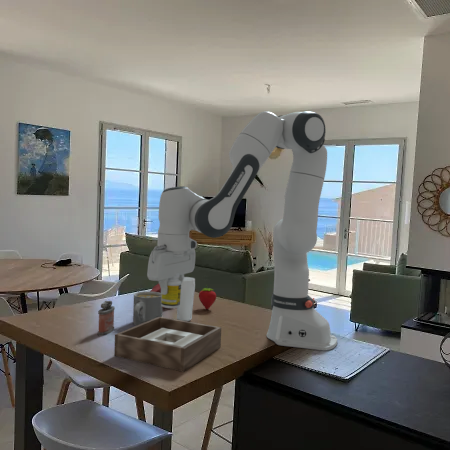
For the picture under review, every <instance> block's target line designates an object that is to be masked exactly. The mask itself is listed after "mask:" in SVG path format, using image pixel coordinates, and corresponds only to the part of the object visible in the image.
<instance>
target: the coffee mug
mask: <svg viewBox="0 0 450 450" xmlns="http://www.w3.org/2000/svg"><path fill="white" fill-rule="evenodd" d="M161 296H162V294H161V293H159V292H150V291H138V292H135V293H134V294H133V307H132V308H133V312H132V315H133V316H132V324H133V325H134V326H137V325H140V324H142V323H144V322H147V321H149V320H152V319H154V318H157V317H163V309H162V308H163V307H162V306H161Z"/></svg>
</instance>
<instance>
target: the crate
mask: <svg viewBox="0 0 450 450" xmlns="http://www.w3.org/2000/svg"><path fill="white" fill-rule="evenodd" d="M221 346H222V327H221V326H215V325H209V324H203V323H198V322H192V321H182V320H178V319H177V318H176V319H175V318H170V317H169V318H168V317H164V316H162V317H157V318H154V319H152V320H149V321H147V322H144V323H142V324H140V325H137V326H136V325H134V326H132V327H130V328H127V329H126V330H122V331H120V332H118V333H115V334H114V350H113V352H114V353H113V354H114V355H113V356H114V357H118V358H122V359H125V360H126V359H127V360H131V361H135V362H140V363H143V364H148V365H151V366H152V365H153V366H157V367H162V368H166V369H171V370H173V371H174V370H175V371H179V372H186V371H187V370H188V369H190V368H192V367H193V366H194V365H196V364H198V363H199V362H201V361H202V360H203V359H205V358H207V357H208V356H210V355H211V354H212V353H214V352H215V351H217V350H218V349H220V348H221Z"/></svg>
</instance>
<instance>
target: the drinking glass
mask: <svg viewBox="0 0 450 450" xmlns="http://www.w3.org/2000/svg"><path fill="white" fill-rule="evenodd" d="M195 289H196V278H195V277H192V276H191V277H189V276H184V279H183V282H182V285H181V295H180V306H179V307H178V308H176V320H182V321H187V322H191V320H192V318H193V308H194V299H195Z"/></svg>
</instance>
